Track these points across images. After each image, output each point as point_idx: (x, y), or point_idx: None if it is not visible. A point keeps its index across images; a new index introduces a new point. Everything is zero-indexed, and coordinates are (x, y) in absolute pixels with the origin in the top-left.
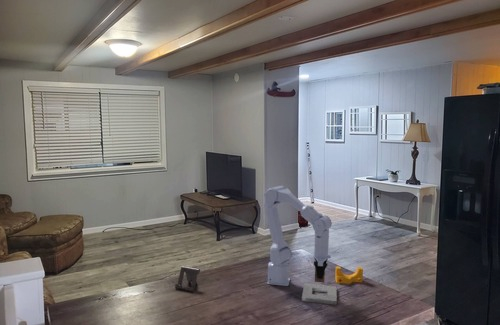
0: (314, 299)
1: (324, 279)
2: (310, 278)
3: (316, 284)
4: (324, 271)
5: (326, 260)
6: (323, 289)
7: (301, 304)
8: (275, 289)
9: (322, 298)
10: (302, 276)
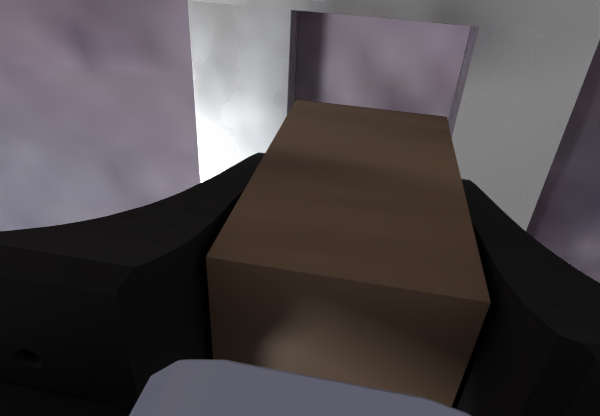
0: (544, 171)
1: (402, 125)
2: (34, 151)
3: (198, 127)
4: (466, 222)
5: (154, 279)
6: (289, 57)
7: (572, 265)
8: None
9: (546, 90)
10: (29, 211)
